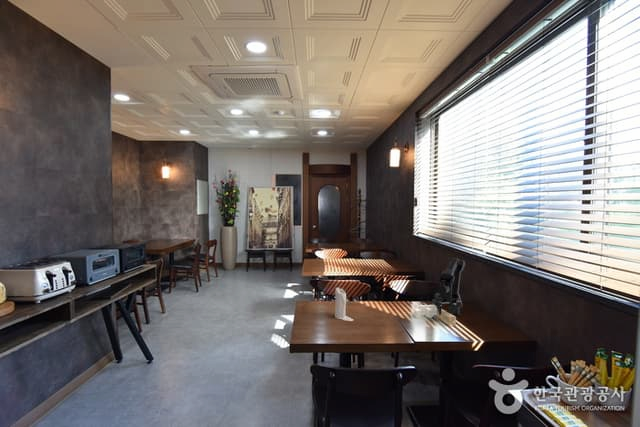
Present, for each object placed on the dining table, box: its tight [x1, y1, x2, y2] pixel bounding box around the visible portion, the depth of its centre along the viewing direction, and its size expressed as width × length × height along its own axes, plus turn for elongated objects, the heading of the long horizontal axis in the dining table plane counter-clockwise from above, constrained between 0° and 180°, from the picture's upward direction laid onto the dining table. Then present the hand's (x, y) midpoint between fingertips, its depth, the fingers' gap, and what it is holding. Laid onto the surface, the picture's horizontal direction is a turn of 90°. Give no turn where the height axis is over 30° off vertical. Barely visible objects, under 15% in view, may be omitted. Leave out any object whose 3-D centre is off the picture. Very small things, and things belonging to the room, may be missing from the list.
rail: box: [436, 309, 457, 327], centre depth 212 cm, size 4×16×6 cm, turn 10°
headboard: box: [413, 302, 443, 319], centre depth 222 cm, size 21×6×9 cm, turn 100°
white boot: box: [334, 287, 354, 322], centre depth 214 cm, size 7×14×20 cm, turn 53°
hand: (446, 314), depth 212 cm, fingers open, 9 cm apart
